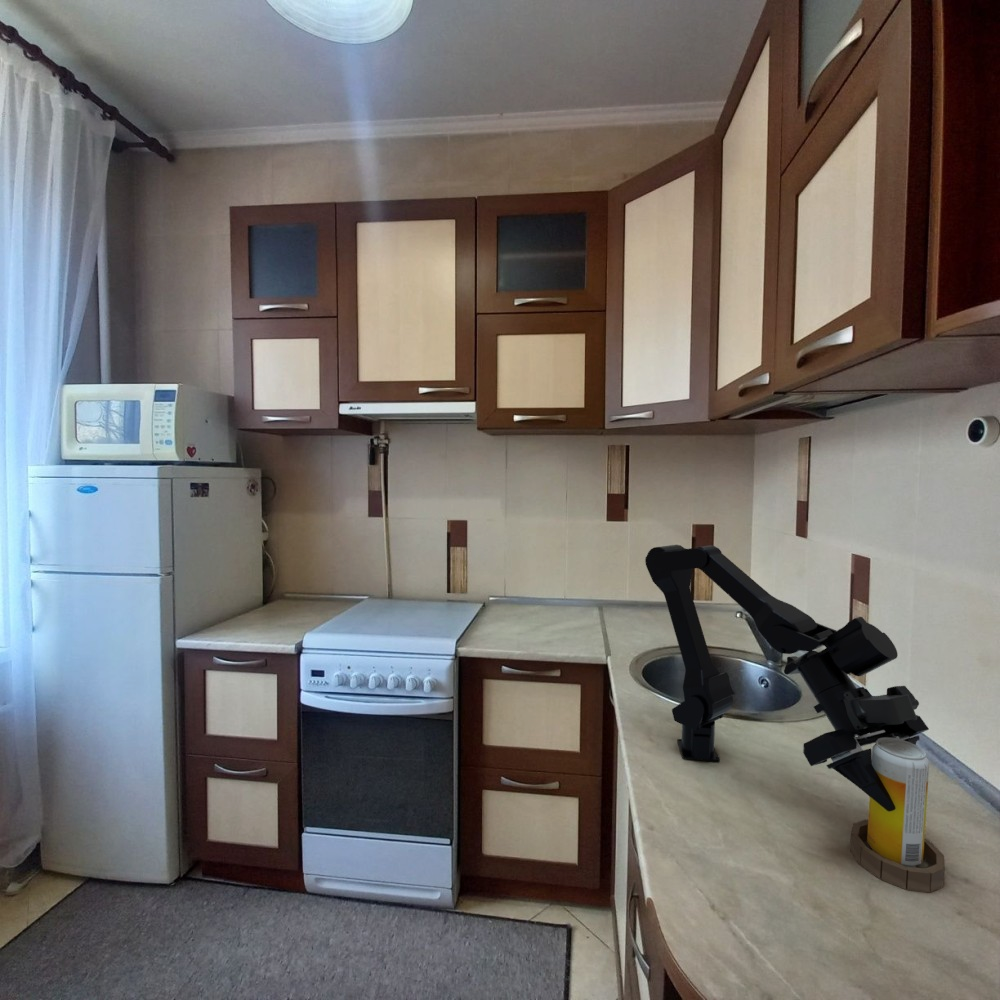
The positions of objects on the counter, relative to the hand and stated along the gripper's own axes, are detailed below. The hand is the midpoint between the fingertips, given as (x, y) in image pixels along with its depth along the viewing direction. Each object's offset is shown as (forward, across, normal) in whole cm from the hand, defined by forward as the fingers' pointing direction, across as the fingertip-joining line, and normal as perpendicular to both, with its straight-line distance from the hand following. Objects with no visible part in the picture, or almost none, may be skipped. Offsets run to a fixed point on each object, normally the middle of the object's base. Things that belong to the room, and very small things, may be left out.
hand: (908, 805), depth 70 cm
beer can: (+5, 0, +7) cm, 8 cm away
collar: (+5, 0, +7) cm, 9 cm away
